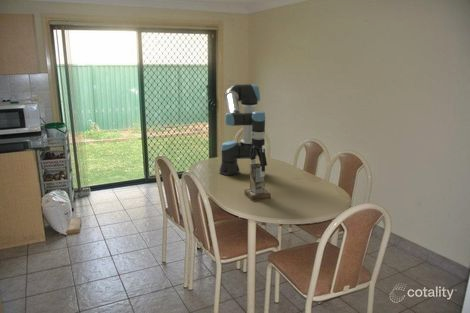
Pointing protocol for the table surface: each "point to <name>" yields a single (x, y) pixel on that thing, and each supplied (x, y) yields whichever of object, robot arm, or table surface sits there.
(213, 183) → the table surface
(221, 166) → the robot arm
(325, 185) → the table surface
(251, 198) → the foundation slab
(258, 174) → the coffee box
